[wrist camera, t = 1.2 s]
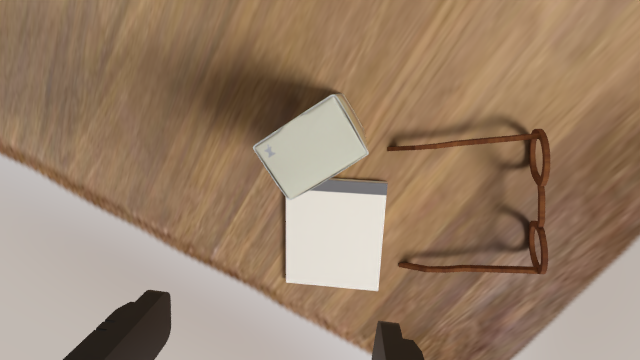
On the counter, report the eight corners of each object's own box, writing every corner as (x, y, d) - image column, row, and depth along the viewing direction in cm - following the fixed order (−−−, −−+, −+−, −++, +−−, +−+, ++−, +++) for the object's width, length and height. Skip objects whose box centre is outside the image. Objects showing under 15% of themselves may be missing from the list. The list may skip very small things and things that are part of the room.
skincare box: (312, 163, 33) (284, 206, 21) (288, 126, 32) (246, 149, 21) (368, 129, 31) (372, 155, 20) (344, 89, 31) (334, 91, 19)
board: (287, 175, 34) (285, 177, 33) (386, 181, 32) (387, 183, 32) (287, 279, 37) (285, 282, 36) (377, 287, 36) (378, 291, 35)
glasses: (530, 255, 33) (558, 283, 28) (398, 264, 35) (404, 292, 30) (531, 124, 30) (563, 131, 25) (385, 143, 32) (389, 153, 27)
